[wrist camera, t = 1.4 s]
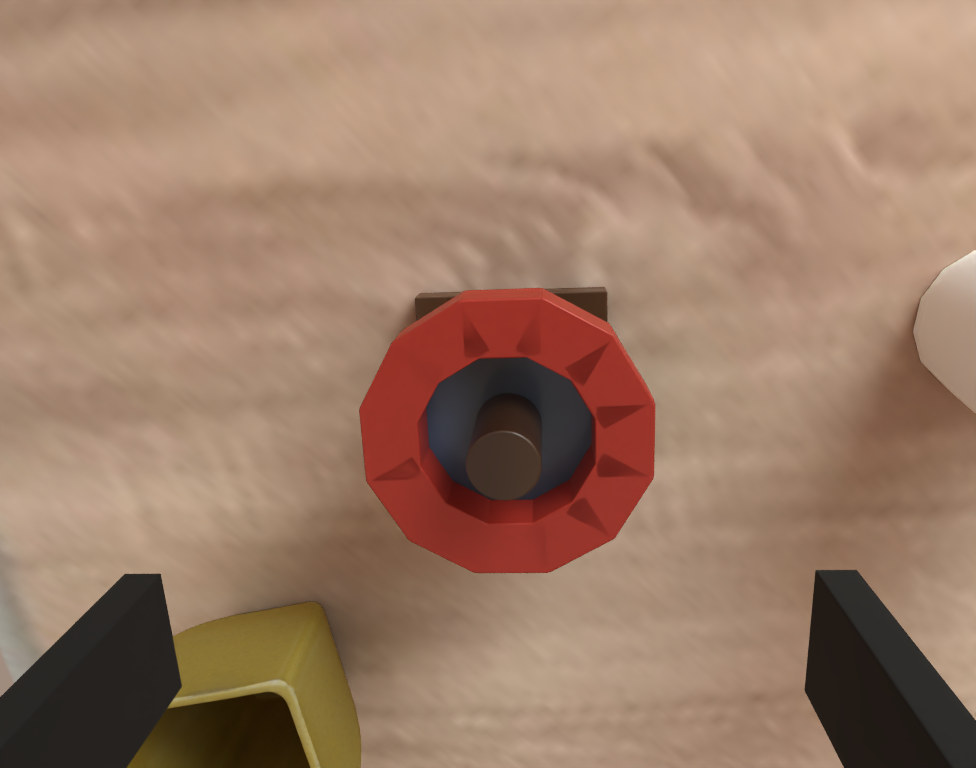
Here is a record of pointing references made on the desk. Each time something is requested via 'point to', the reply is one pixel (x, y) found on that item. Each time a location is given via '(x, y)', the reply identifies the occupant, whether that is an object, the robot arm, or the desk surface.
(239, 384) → the desk surface
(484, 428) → the stacking post
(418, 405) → the ring
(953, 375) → the foam cup
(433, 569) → the desk surface
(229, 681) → the flower pot
